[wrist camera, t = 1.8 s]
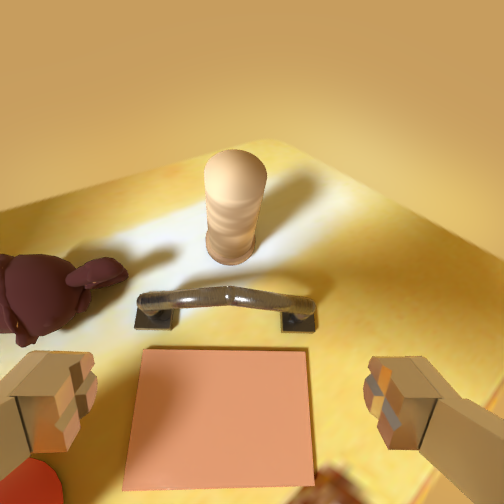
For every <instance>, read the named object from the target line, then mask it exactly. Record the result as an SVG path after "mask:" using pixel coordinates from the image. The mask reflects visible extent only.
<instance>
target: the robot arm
mask: <svg viewBox="0 0 504 504" xmlns="http://www.w3.org/2000/svg"><path fill="white" fill-rule="evenodd" d="M94 364H95V363H94V358H93V354H91V353H90V352H73V351H37V350H35V351H32V352H29V353H28V354H27V355H26V356H25V357H24V358H23V359H22V360H21V361H20V362H19V363H18V364H17V365H16V366H15V367H14V368H13V369H12V370H11V371H10V372H9V373H8V374H7V375H6V376H5V377H4V378H3V379H2V380H1V381H0V481H1V480H3V479H4V478H5V477H6V476H7V475H8V474H10V473H11V472H12V471H13V470H14V469H15V468H17V467H18V466H19V465H20V464H21V463H23V462H24V461H25V460H26V459H27V458H28V457H30V456H31V454H30V453H54V452H67V451H68V450H69V448H70V446H71V444H72V442H73V441H74V439H75V437H76V435H77V433H78V432H79V430H80V428H81V426H80V421H79V420H80V419H81V418H82V417H84V416H85V415H86V414H88V413H89V412H90V410H91V408H92V406H93V404H94V401H95V397H96V394H97V384H98V383H97V376H96V375H95V374H93V373H92V372H91V371H90V370H91V369H92V367H93V366H94ZM368 368H369V370H370V372H371V374H370V375H369V376H368V377H367V378H366V379H365V382H364V387H363V391H364V399H365V403H366V406H367V408H368V410H369V412H370V413H371V414H372V415H373V416H374V417H376V418H377V419H378V424H377V428H378V430H379V432H380V434H381V436H382V438H383V440H384V442H385V444H386V446H387V448H388V450H419V453H421V454H422V455H423V456H424V457H425V458H426V459H427V460H428V461H429V462H430V463H431V464H432V465H433V466H435V467H436V468H437V469H438V470H439V471H440V472H441V473H442V474H443V475H444V476H445V477H446V478H447V479H449V480H450V481H451V482H452V483H453V484H454V485H455V486H456V487H457V488H458V489H459V490H460V491H461V492H462V493H464V494H465V495H466V496H467V497H468V498H469V499H470V500H471V501H472V502H473V503H474V504H504V419H502V418H500V417H498V416H497V415H495V414H493V413H491V412H490V411H488V410H486V409H485V408H483V407H481V406H479V405H478V404H476V403H474V402H472V401H471V400H469V399H462V398H461V397H460V396H459V395H458V393H457V392H456V391H455V390H454V389H453V388H452V387H451V386H450V384H449V383H448V382H447V381H446V380H445V379H444V378H443V377H442V376H441V374H440V373H439V372H438V371H437V370H436V369H435V368H434V367H433V365H432V364H431V363H430V362H429V361H428V360H427V359H426V358H424V357H422V356H405V357H388V356H372V358H371V359H370V361H369V365H368Z"/></svg>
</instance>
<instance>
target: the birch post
mask: <svg viewBox="0 0 504 504" xmlns="http://www.w3.org/2000/svg"><path fill="white" fill-rule="evenodd" d="M204 180H205V194H206V208H207V223H208V231H207V234H206V248H207V251H208V253H209V255H210V256H211V257H212V258H213V259H214V260H215V261H217V262H218V263H220V264H223V265H238V264H241V263H243V262H245V261H246V260H247V259H248V258H249V257H250V256H251V254H252V252H253V250H254V246H255V234H254V232H255V228H256V224H257V219H258V215H259V211H260V206H261V202H262V198H263V193H264V189H265V185H266V180H267V172H266V169H265V166H264V165H263V163H262V162H261V161H260V160H259V159H258V158H257V157H256V156H254V155H253V154H251V153H249V152H246V151H242V150H225V151H222V152H219V153H217V154H215V155H214V156H212V157H211V158H210V159H209V161H208V162H207V164H206V166H205V169H204Z"/></svg>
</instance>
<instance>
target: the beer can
mask: <svg viewBox="0 0 504 504" xmlns="http://www.w3.org/2000/svg"><path fill="white" fill-rule="evenodd" d="M0 504H63V493H62V484H61V482H60V480H59V478H58V476H57V474H56V472H55V471H54V470H53V469H52V468H51V467H50V466H49V465H47V464H46V463H45V462H43V461H40V460H36V459H33V458H27V459H26V460H25V461H24V462H23V463H21V464H20V465H19V466H18V467H17V468H15V469H14V470H13V471H12V472H11V473H10V474H8V475H7V476H6V477H5V478H4V479H3V480H1V481H0Z"/></svg>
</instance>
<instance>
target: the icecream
mask: <svg viewBox="0 0 504 504" xmlns="http://www.w3.org/2000/svg"><path fill="white" fill-rule="evenodd" d="M128 277H129V276H128V272H127V270H126V269H125V268H124V267H123V266H122V265H121V264H120V263H119V262H118V261H116V260H115V259H114V258H109V257H104V258H99V259H95V260H92V261H89V262H87V263H85V264H84V265H83V266H81V267H79V268H77V269H76V268H75V267H74V266H73V265H72V264H71V263H70V262H68V261H66V260H63V259H61V258H59V257H56V256H50V255H43V254H33V255H18V256H16V257H14V256H9V255H5V254H0V333H15V334H16V344H17V345H18V346H20V347H21V348H22V347H26V346H28V345H30V344H35V343H36V341H37V339H38V337H39V336H45V335H47V334H49V333H51V332H54V331H56V330H58V329H60V328H61V327H63V326H64V325H65V324H66V323H68V322H69V321H70V320H71V319H72V318H73V317H74V315H75V314H76V313H81V312H84V311H86V310H87V308H88V306H89V304H90V302H91V291H90V290H91V289H97V288H102V287H107V286H111V285H114V284H116V283H119V282H122V281H124V280H125V279H127V278H128Z"/></svg>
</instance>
